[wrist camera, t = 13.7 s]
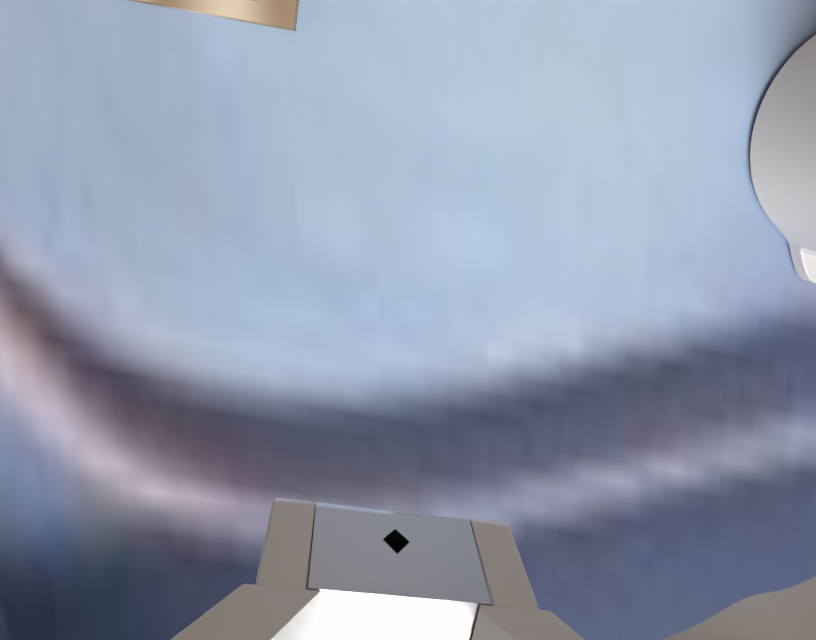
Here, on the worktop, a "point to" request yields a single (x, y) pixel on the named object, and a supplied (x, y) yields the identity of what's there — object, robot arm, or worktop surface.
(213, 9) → the tan flat ridged board
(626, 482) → the worktop surface
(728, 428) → the worktop surface
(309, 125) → the worktop surface
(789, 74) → the robot arm
